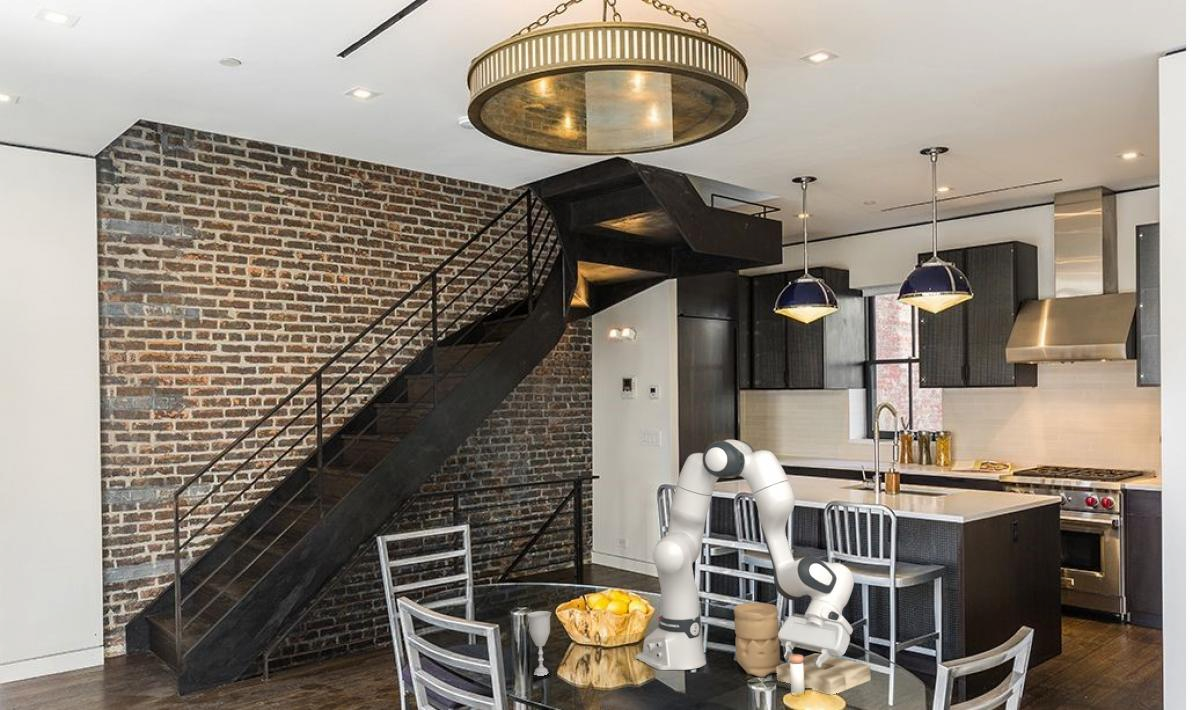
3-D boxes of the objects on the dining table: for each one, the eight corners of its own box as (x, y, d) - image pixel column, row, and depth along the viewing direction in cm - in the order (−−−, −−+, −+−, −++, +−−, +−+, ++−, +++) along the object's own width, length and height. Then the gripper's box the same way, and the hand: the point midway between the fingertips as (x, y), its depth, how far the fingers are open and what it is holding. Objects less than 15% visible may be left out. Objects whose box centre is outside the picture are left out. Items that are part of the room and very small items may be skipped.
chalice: (543, 671, 266) (541, 610, 267) (558, 675, 261) (556, 613, 262) (524, 677, 261) (522, 614, 262) (539, 681, 256) (537, 618, 257)
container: (789, 669, 259) (786, 606, 260) (764, 680, 250) (761, 614, 251) (753, 661, 268) (750, 600, 269) (727, 671, 259) (725, 608, 260)
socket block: (777, 681, 249) (776, 666, 249) (816, 666, 260) (815, 652, 261) (831, 695, 235) (830, 680, 235) (870, 680, 247) (869, 665, 247)
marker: (788, 694, 237) (786, 656, 238) (796, 691, 240) (794, 653, 240) (799, 697, 235) (797, 658, 235) (807, 694, 237) (805, 655, 238)
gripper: (785, 605, 252) (765, 648, 245) (847, 617, 237) (827, 662, 230) (796, 619, 255) (776, 661, 248) (858, 631, 239) (838, 676, 233)
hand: (801, 662), depth 239 cm, fingers open, 8 cm apart
